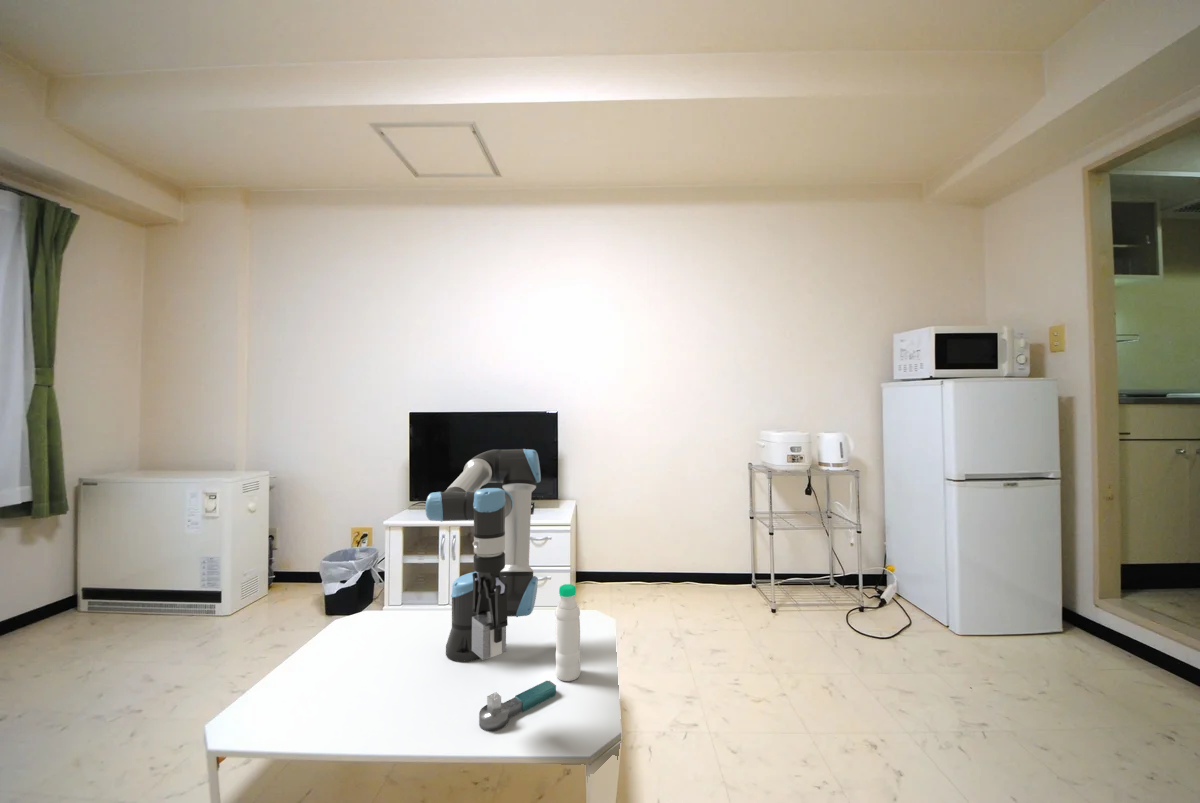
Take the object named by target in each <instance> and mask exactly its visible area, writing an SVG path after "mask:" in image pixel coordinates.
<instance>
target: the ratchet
mask: <svg viewBox="0 0 1200 803" xmlns="http://www.w3.org/2000/svg"><path fill="white" fill-rule="evenodd" d="M556 694H557V684H555V683H553V682H552V681H551V680H545V681H543V682H540V683H539V684H537V685H535V686H533V687H530V688H528V689H527V690H524V691H522V692H521V693H518V694H516V695H515V696H514V697H512V698H511V699H508V700H506V701H504V702H502V695H500V694H499V693H498V692H497V691H496V692H494V693H492V694H489V695H487V696H486V697H487V698H486V699H487V700H486V705H484V706H482V707H481V709H480V710H479V714H478V722H479V723H478V725H479V728H480V729H481V730H482V731H485V732H489V733H490V732H491V733H492V732H498V731H501V730H502V729H504V728H505V727H507V726H508V724H509V722H510V719H511V718H513V717H515V716H517V715H519V714H521V713H525V712H526V711H528V710H530V709H532V708H535V707H536V706H538V705H540V704H542V703H543V702H546V701H548V700H550V699H552V698H553V697H555V696H556Z"/></svg>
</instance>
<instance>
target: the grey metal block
mask: <svg viewBox="0 0 1200 803" xmlns="http://www.w3.org/2000/svg"><path fill="white" fill-rule="evenodd" d="M489 627H492V622H491V614H490V612H486V613H483V614H480V615H476V616H473V617H472V651H473V652H474V653H475V654H476V655H478V656H479V657H480V658H481V659H480V660H482V661H485V660H486V659H489V658H491V657H490V629H489ZM506 651H507V626H505V627H502V654H503V653H506Z"/></svg>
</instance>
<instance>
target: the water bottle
mask: <svg viewBox="0 0 1200 803" xmlns="http://www.w3.org/2000/svg"><path fill="white" fill-rule="evenodd" d="M576 588H577V587H576V585H574V584H572V583H566V584H565V583H563V584H561V585H560V586H559V589H558V590H559V592H558V593H559V596H560V600H559V602H558V605H557V606H556V609H555V612H554V613H555V614H554V615H555V648H556V650H555V676H556V678H558V680H560V681H562V682H572V681H575V680H577V679H578V678H579V677H580V676H581V662H580V661H581V649H580V646H581V625H580V624H581V620H580V615H581V610H580V607H579V606H578V602H577V600H576V599H575V596H576V593H577V589H576Z"/></svg>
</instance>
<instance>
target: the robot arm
mask: <svg viewBox="0 0 1200 803" xmlns="http://www.w3.org/2000/svg"><path fill="white" fill-rule="evenodd" d="M541 479H542V476H541V466H540V460H539V454H538V452H537V450H535V449H529V448H527V449H526V448H519V449H518V448H514V449H511V448H510V449H490V450H487V451H484V452H482V453H479V454H477V455H475V456H474V457H472V458H471V459H469V460H468V461H467V462H466V463H465V465H464V467H463V471H462V472H461V473H460V474H459V476H457V478H456V479H455V480H454V481H453V482H452V483H451V484H450V485H449V486H448V487H446V488H447V489H446V490H444V491H436V492H430V493H429V494H428V495H427V497H426V501H425V508H424V509H425V516H426V517H427V519H428V520H429V521H430V522H431V521H432V522H441V523H442V522H457V521H459V522H460V521H461V522H462V521H463V522H464V521H471V522H472V521H473V541H472V547H473V554H474V555H473V571H472V572H469V573H465V574H463V575H460V576H459V577H457V578H456V579H455V580H454V581H453V583H452V585H451V587H452V588H451V595H450V597H451V628H450V630H449V631H450V632H449V635H448V637H447V642H446V645H445V656H446V658H448V660H452V661H453V662H460V663H469V662H475V661H478V660H482V659H481V658H480V657H479V656H478V655H476V654H475V653H474V652H473V651H472V617H473V616H476V615H480V614H483V613H486V612H490V614H491V622H492V627H489V629H490V658H494V657H496V656H498V655H501V654H503V653H502V627H505V626H506V627H507V626H508V625H509V624H508V617H509V618H510V617H515V618H518V617H527V616H530V615H531V614H532V613H533V611H534V608H535V605H536V600H537V599H536V598H537V593H538V581H539V580H538V579H539V578H538V577H537V576H536V575H534V570H533V568H532V567H531V566H530V548H531V547H530V544H531V518H532V517H531V515H532V510H531V509H532V493H533V491H535V489H537V484H538V483H540V482H542V481H541ZM489 483H493V484H494V483H495V484H496V483H498V484H499V483H500V484H502V485H501V486H502V488H501V487H486V488H485V487H484V486H485V485H487V484H489ZM482 487H484V488H482Z"/></svg>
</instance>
